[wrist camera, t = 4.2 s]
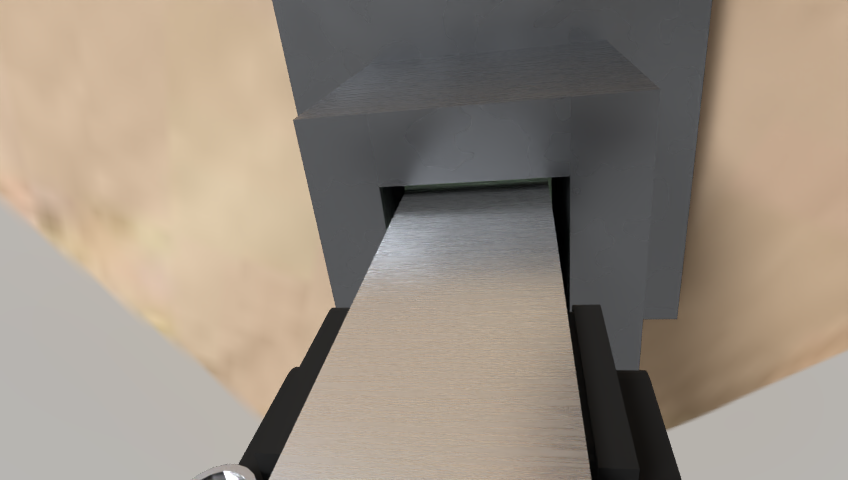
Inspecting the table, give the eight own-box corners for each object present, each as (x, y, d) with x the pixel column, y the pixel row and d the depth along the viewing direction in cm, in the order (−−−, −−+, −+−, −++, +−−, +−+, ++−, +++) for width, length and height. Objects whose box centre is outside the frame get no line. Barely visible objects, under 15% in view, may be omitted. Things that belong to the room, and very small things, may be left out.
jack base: (707, -82, 19) (872, -116, 10) (668, 300, 26) (746, 474, 17) (281, -24, 22) (126, -11, 13) (351, 305, 29) (281, 455, 20)
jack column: (544, 132, 19) (629, 654, 5) (546, 239, 21) (611, 844, 7) (425, 140, 19) (192, 609, 5) (437, 243, 21) (287, 791, 7)
